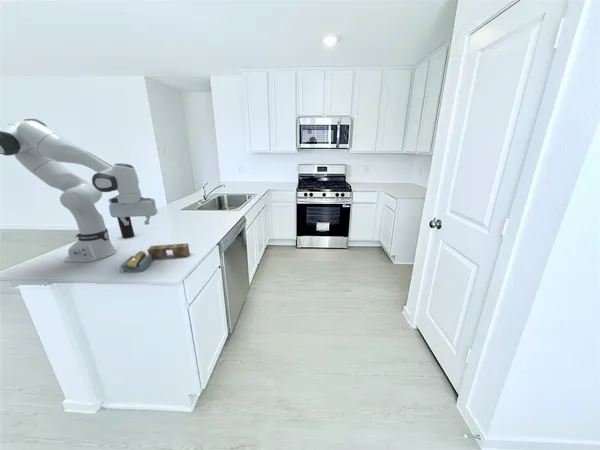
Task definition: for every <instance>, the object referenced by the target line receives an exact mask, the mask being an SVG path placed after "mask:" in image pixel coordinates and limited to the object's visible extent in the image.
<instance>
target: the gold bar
mask: <svg viewBox="0 0 600 450" xmlns="http://www.w3.org/2000/svg"><path fill="white" fill-rule="evenodd" d="M133 256H134V257H133V258H132V259H131V260H130V261H129V262H128V263H127V264H126V266H127V268H129V269H134V268H135V267H136V266H137V265H138V264H139V263H140V262H141V261H142V260H143V259H144V258H145V257H146V256H147V253H146V252H145V251H142V250H140V251H138V252H137V253H136V254H135V255H133Z"/></svg>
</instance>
